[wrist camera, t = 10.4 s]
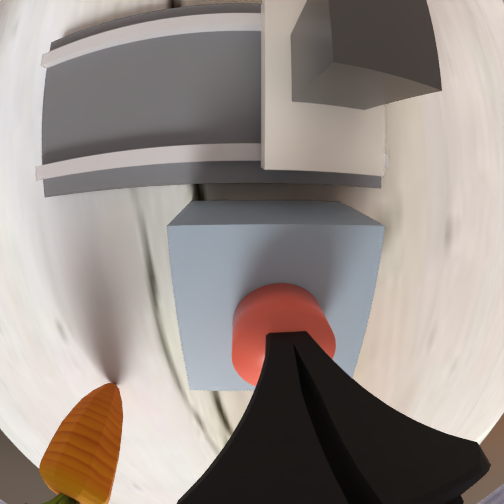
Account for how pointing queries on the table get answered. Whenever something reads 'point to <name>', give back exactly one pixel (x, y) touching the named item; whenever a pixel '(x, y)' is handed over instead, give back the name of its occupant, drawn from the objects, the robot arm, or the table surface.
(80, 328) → the table surface
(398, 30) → the carriage
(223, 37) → the rail board
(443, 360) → the table surface
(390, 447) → the robot arm
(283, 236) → the blue-grey block
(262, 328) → the button
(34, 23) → the table surface
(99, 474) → the carrot
